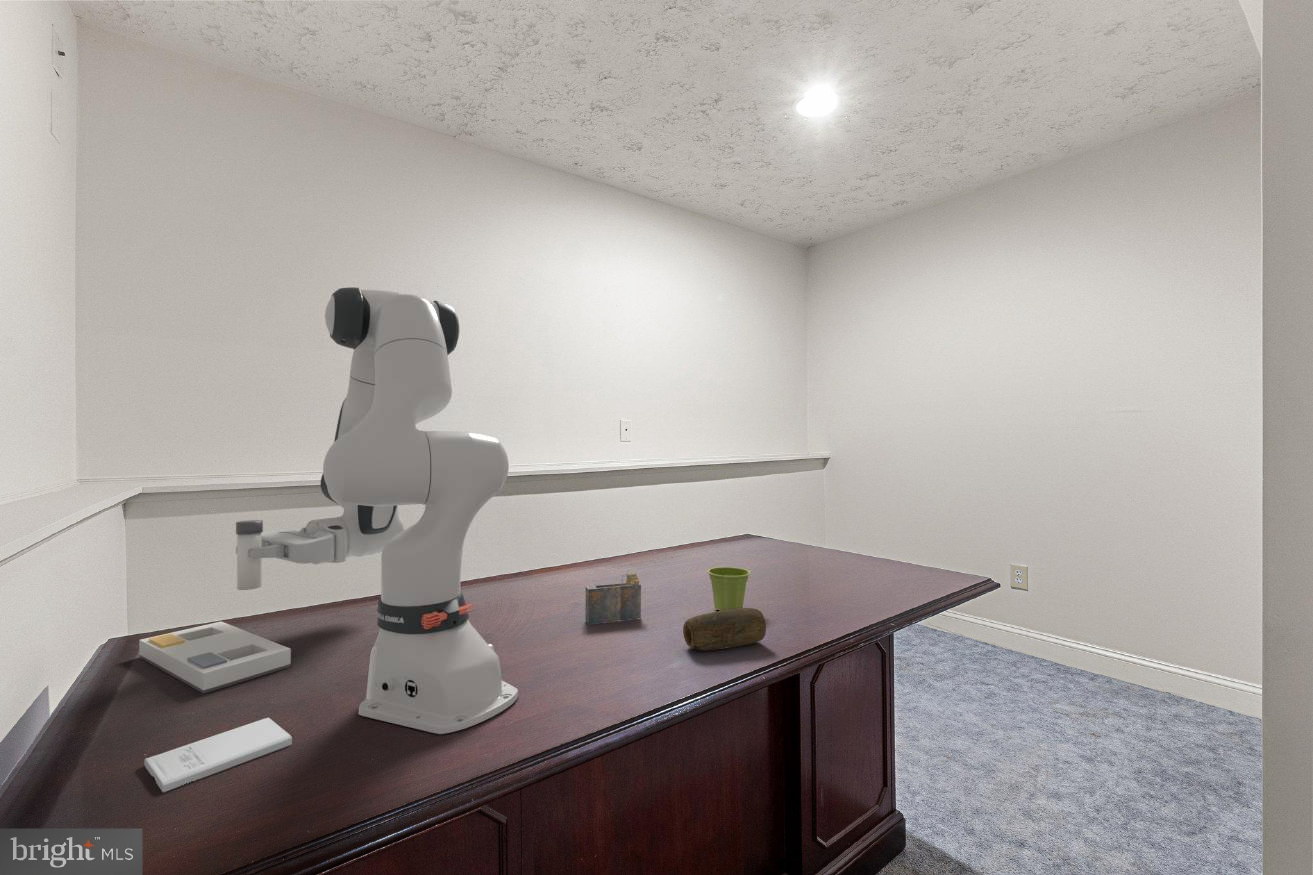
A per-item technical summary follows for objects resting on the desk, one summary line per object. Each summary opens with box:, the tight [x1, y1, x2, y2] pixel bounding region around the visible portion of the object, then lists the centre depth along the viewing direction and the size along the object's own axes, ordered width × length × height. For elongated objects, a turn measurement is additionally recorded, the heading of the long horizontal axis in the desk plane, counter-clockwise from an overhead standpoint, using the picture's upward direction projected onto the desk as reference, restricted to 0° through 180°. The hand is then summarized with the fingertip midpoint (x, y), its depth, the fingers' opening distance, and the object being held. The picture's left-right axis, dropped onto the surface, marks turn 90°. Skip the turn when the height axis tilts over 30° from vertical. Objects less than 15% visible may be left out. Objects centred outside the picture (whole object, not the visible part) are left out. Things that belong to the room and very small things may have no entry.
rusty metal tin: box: [584, 572, 642, 625], centre depth 121 cm, size 11×3×10 cm, turn 110°
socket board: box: [138, 621, 292, 694], centre depth 97 cm, size 26×12×3 cm, turn 58°
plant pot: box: [707, 566, 751, 611], centre depth 129 cm, size 9×9×9 cm
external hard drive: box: [144, 717, 293, 793], centre depth 69 cm, size 2×8×12 cm
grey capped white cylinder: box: [235, 519, 264, 591], centre depth 105 cm, size 4×4×12 cm
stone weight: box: [682, 607, 767, 651], centre depth 106 cm, size 15×7×7 cm, turn 114°
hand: (243, 552), depth 104 cm, fingers closed on grey capped white cylinder, 4 cm apart
